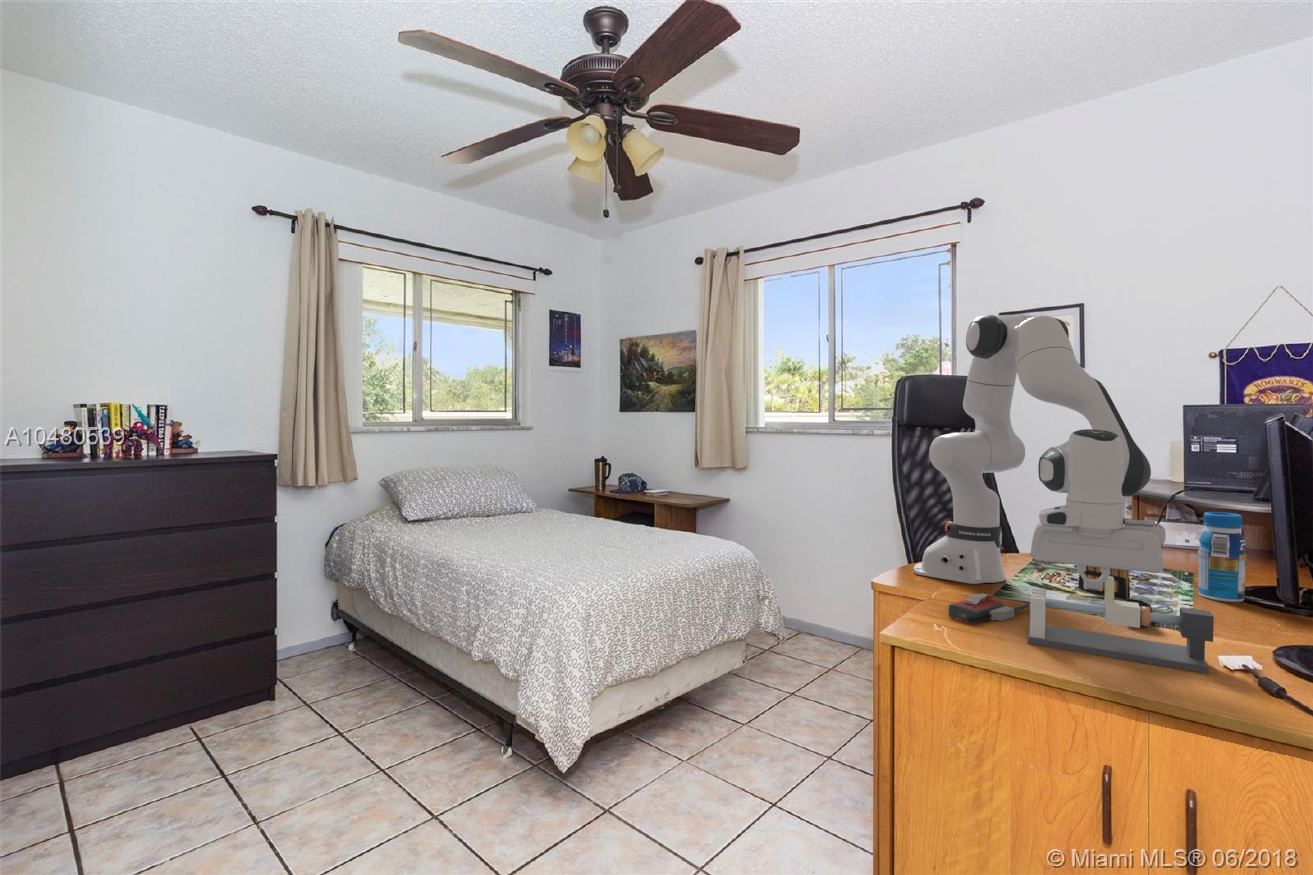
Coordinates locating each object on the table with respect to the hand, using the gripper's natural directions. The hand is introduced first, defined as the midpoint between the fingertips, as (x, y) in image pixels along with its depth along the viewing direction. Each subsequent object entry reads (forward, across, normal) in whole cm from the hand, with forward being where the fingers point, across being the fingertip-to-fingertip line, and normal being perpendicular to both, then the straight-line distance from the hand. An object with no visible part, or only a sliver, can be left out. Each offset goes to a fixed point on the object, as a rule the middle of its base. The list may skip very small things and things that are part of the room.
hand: (1093, 589), depth 115 cm
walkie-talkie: (+11, +18, -11) cm, 24 cm away
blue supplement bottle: (+11, -27, -53) cm, 60 cm away
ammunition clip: (+11, -4, -43) cm, 45 cm away
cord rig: (+11, -3, 0) cm, 11 cm away
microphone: (+11, -10, -26) cm, 30 cm away
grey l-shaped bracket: (+5, -4, 0) cm, 7 cm away
